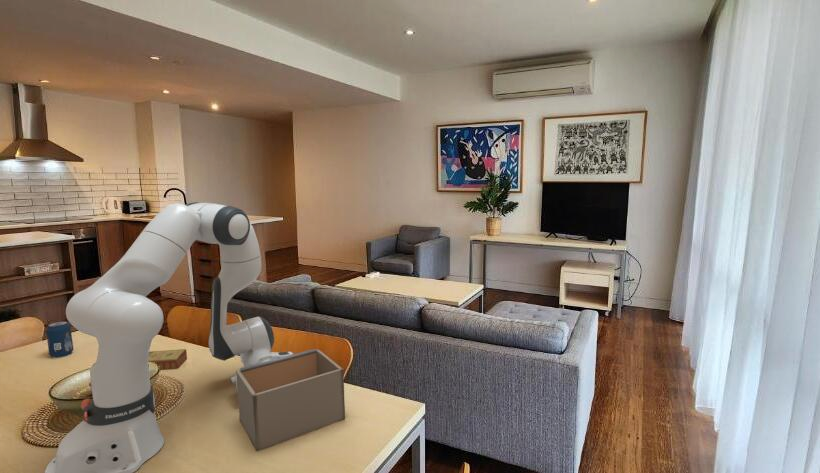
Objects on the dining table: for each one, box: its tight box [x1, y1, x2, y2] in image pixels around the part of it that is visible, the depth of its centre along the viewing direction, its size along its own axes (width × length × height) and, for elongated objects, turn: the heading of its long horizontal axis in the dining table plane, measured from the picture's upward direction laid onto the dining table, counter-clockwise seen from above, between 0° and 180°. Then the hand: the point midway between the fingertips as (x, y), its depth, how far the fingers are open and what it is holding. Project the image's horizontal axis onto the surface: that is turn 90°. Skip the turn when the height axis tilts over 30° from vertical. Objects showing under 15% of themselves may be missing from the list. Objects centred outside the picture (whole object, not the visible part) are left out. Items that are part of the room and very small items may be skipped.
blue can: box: [45, 320, 74, 359], centre depth 155 cm, size 7×7×12 cm
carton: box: [148, 348, 188, 371], centre depth 146 cm, size 8×16×4 cm, turn 98°
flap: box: [239, 348, 317, 393], centre depth 118 cm, size 21×1×14 cm, turn 125°
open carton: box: [235, 349, 346, 452], centre depth 112 cm, size 23×16×14 cm
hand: (279, 385), depth 119 cm, fingers closed
